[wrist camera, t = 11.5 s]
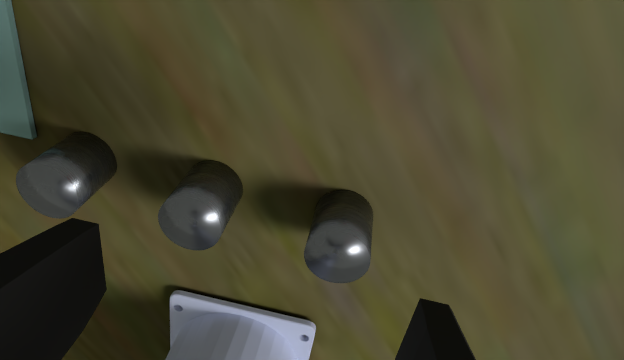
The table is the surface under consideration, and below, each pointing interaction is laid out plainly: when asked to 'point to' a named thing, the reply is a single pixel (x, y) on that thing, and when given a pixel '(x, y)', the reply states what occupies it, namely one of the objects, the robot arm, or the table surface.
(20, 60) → the mat
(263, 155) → the table surface
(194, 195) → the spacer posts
